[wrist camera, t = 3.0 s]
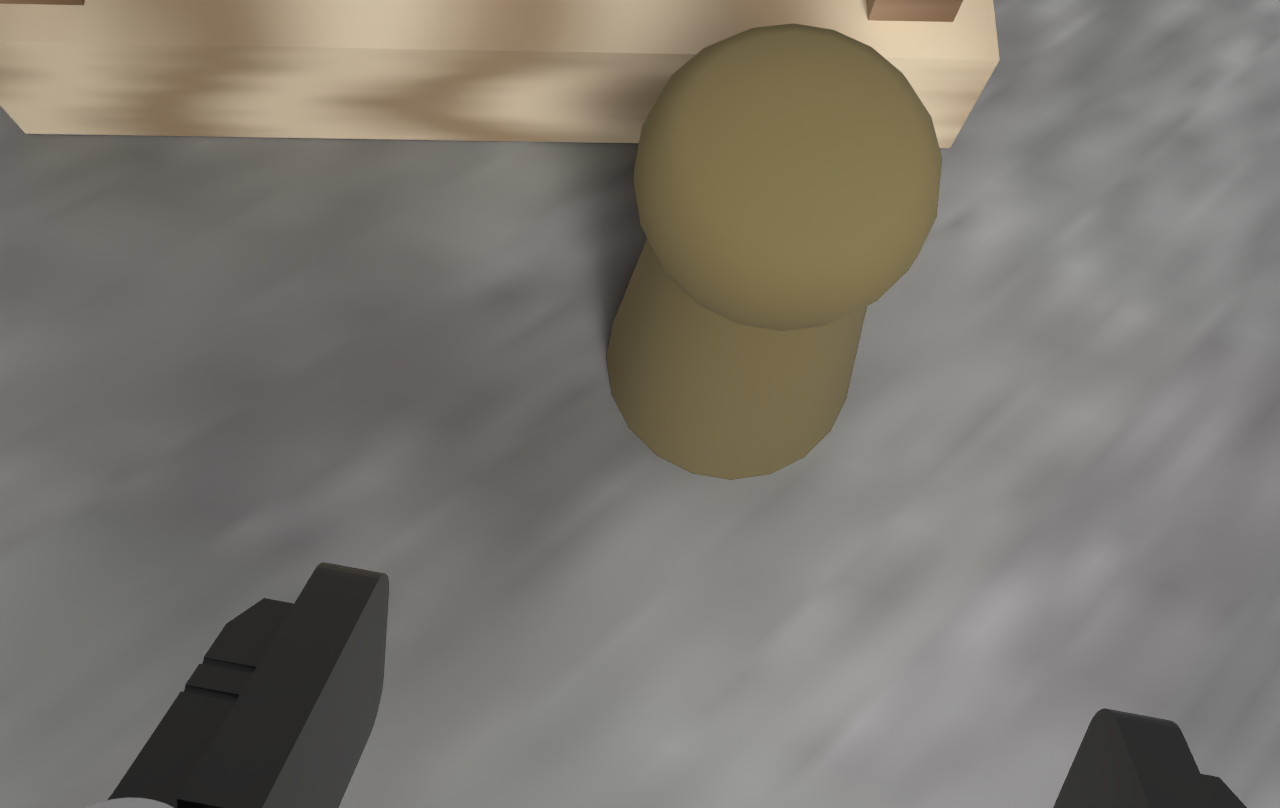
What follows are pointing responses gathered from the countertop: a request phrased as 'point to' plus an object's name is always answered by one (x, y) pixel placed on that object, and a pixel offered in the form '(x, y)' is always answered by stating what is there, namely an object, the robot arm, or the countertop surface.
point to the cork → (766, 243)
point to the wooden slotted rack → (431, 63)
